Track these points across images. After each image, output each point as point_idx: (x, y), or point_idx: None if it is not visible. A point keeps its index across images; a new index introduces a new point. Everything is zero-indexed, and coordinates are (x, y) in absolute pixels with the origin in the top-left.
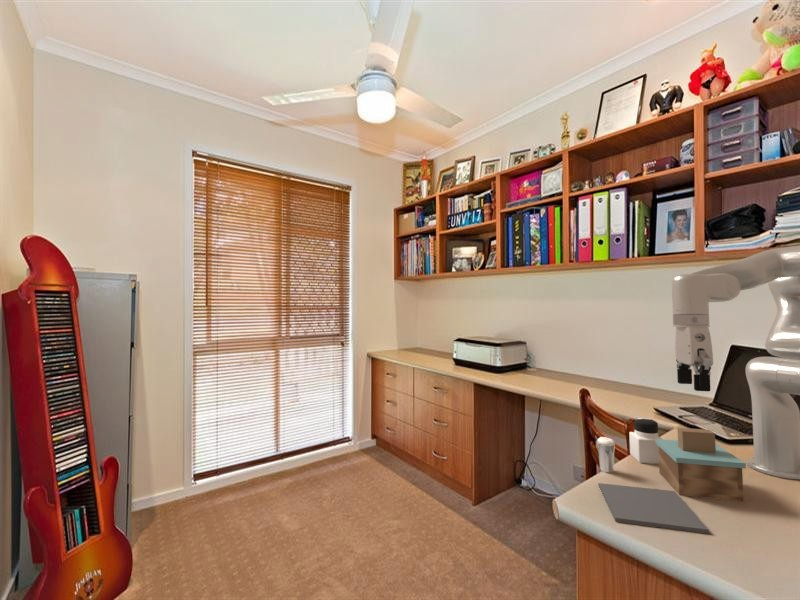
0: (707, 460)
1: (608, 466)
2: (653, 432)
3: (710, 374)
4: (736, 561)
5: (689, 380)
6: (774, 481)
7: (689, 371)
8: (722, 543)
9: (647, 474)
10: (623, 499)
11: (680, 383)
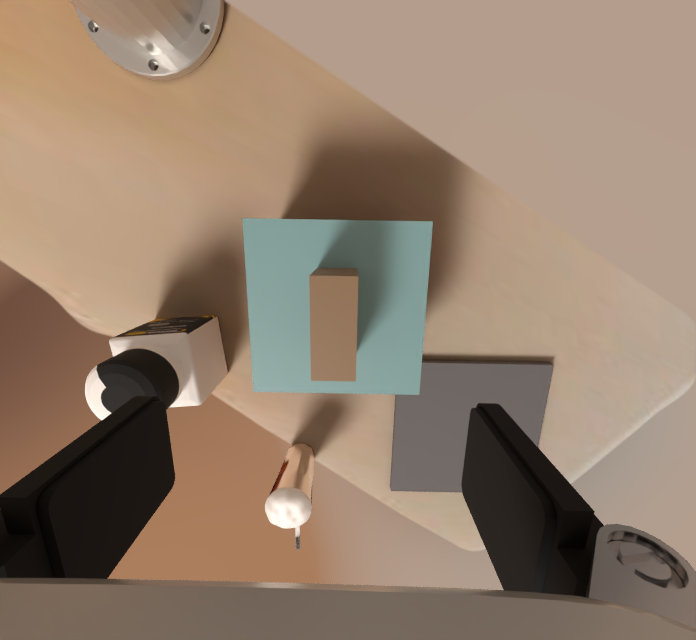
0: (424, 320)
1: (313, 464)
2: (172, 371)
3: (658, 539)
4: (626, 358)
5: (149, 432)
6: (254, 71)
7: (71, 500)
8: (577, 354)
9: None
10: (457, 465)
11: (168, 471)
